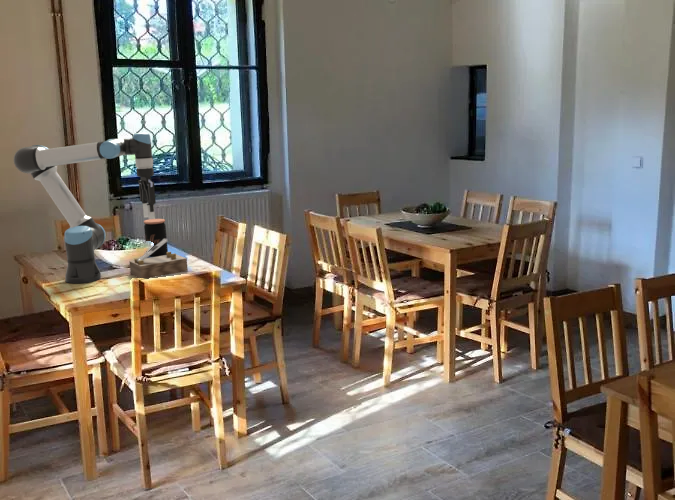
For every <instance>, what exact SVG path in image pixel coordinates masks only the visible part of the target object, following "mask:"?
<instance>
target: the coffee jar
mask: <svg viewBox="0 0 675 500" xmlns="http://www.w3.org/2000/svg"><path fill="white" fill-rule="evenodd" d="M143 224H144V226H143V230H144V240H145V242H146V241H151V242H153V243H154V245H157V244H158V243H159V242H161V241H162V240H163V239H164V238H165V239H167V240H168V237H167V228H166V219H164V218H155V219H149V218H148V219H145V220H143ZM166 252H169V249H168V241H167V242H166V243H165V244H163V245H162V246H161V247H160V248H158V249H157V250H156V251H154V252H153V253H152V254H151V255H149V256H150V257H149V256H148V257H149V258H151V257H157V256H163V255H167V254H166Z"/></svg>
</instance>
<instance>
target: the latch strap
mask: <svg viewBox="0 0 675 500" xmlns="http://www.w3.org/2000/svg"><path fill="white" fill-rule="evenodd" d="M168 241H169V240H168V238H167V239H165V238H164V239H163V240H162V241H161V242H159V243H158V244H157V245H154V246H153V247H152V248H151V249H150V250H149V251H148V252H147V251H146V252H145V253H144V254H143V255H142V256H140V257H138V258H139V259H137V260H136V262H138V261H139V260H144V259H146V258H149V255H151V254H152V253H153V252H154V251H156V250H157V249H158V248H160V247H161V246H162V245H163V244H165V243H166V242H167V243H168Z"/></svg>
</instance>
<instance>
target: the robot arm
mask: <svg viewBox="0 0 675 500" xmlns="http://www.w3.org/2000/svg"><path fill="white" fill-rule="evenodd" d="M152 150H153V149H152V140H151V135H150V134H149V133H148V132H139V133H134V134H133V135H132V137H131V138H130V137H128V138H127V137H125V138H115V137H114V138H109V139H107V140H103V141H98V142H96V141H95V142H89V143H82V144H81V143H80V144H74V145H68V146H61V147H53V148H48V147H46V146H44V145H41V144H40V145H39V144H34V145H31V146H25V147H21V148H19V149H18V150H17V151H16V152H15V154H13V155H14V156H13V164H14V166H15V168H16V170H18V171H20V172H21V173H24V174H30V175H31V177H32V178H33V179H34V181H37V182H38V181H39V182H40V184H41V185H42V186H43V188H44V190H45V191H46V193H47V194H48V195H49V197H50V198H51V200H52V201H53V203H54V205H55V206H56V207H57V209H58V210H59V211H60V213H61V215H62V216H63V217H64V219H65V220H66V222H67V223H68V224H69V225H68V226H69V227H68V228H67V229H65V231H64V238H63V239H64V240H63V241H64V244H65V252H66V254H65V255H66V259H67V260H66V261H67V266H66V270H65V276H64V278H65V283H67V284H86V283H92V282H95V281H98V280H100V279H101V278H102V275H101V271H100V269H99V266H98V264H97V262H96V258H95V250H97V249H98V248H100V247H102V245H103V244H104V243H105V240H106V236H107V235H106V230H105V228H104V227H103V226H102V225H101V224H99V223H96V221H95V220H94V219H93V216H89V215H87V214H86V213H85V211H84V209H83V208H82V207H81V206H80V203H79V202H78V201H77V199H76V198H75V196H74V194H73V193H72V192H71V191H70V189H69V187H68V186H67V185H66V183H65V182H64V180H63V179H62V177H61V175H60V174H59V173H58V166H62V165H70V164H78V163H85V162H90V161H91V162H92V161H97V160H98V161H99V160H105V159H106V160H107V159H109V160H111V159H115V158H117V157H121V156H130V155H131V156H135V157H134V160H135V161H134V162H135V168H136V176H137V177H138V178H140V180H138V181H137V183H138V189H139V190H138V191H139V198H140V199H139V201H140V202H141V203H142V211H143V218H144V219H145V218H148V220H149V219H156V214H155V213H156V212H155V204H156V203H157V202H156V193H155V191H156V190H155V182H154V181H152V177H153V176H154V175H155V172H154V168H153V167H154V159H153V151H152Z"/></svg>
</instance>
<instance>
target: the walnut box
mask: <svg viewBox="0 0 675 500" xmlns="http://www.w3.org/2000/svg"><path fill="white" fill-rule="evenodd" d="M166 254H167V255H163V256H157V257H147V258H146V259H144V260H139V261H138V262H136V260H137V259H139V258H140V257H138V258H134V259H132V260H129V269H130V270H129V271H130V275H132V276H135V277H136V278H138V277H140V278H147V279H151V278H150V277H152V278H156V277H155V276H158V277H162V276H161V275H163V276H167V275H174V274H179V273H185V272H188V259H187V258H186V257H184V256H182V255H179V254H177V253H175V252H174V253H172V251H168V252H166ZM140 278H139V279H140Z"/></svg>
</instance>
